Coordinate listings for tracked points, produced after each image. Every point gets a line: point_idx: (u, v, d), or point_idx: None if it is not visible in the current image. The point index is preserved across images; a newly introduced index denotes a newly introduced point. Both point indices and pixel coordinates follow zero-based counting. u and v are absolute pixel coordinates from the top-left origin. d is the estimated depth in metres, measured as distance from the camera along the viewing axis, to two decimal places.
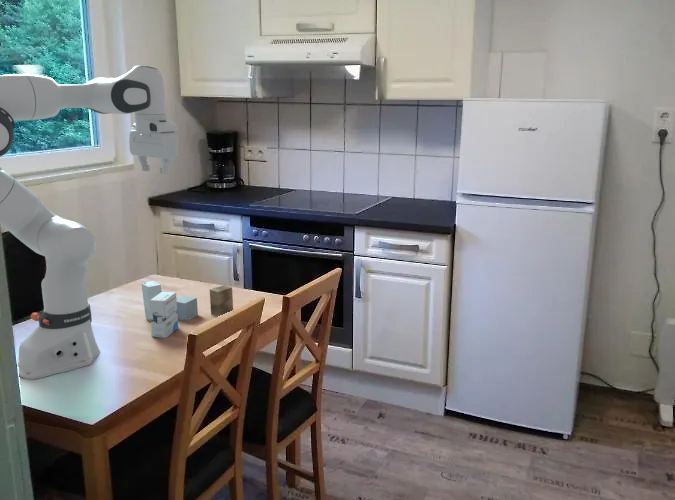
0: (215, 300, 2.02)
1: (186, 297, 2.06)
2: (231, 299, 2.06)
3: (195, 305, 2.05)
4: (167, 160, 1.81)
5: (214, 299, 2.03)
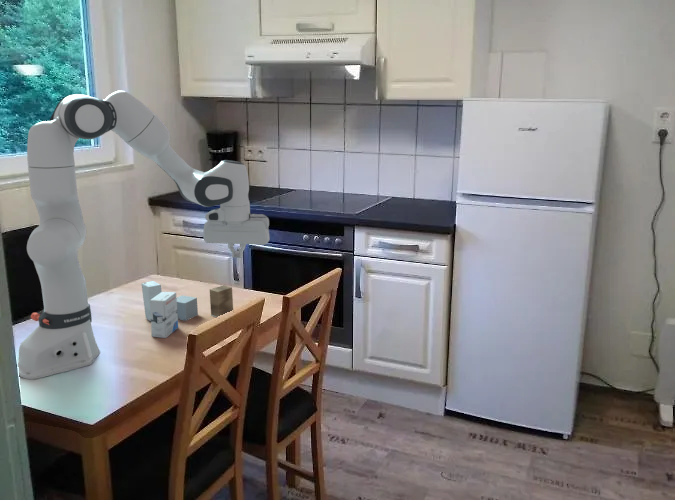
0: (215, 300, 2.02)
1: (186, 297, 2.06)
2: (231, 299, 2.06)
3: (195, 305, 2.05)
4: None
5: (214, 299, 2.03)
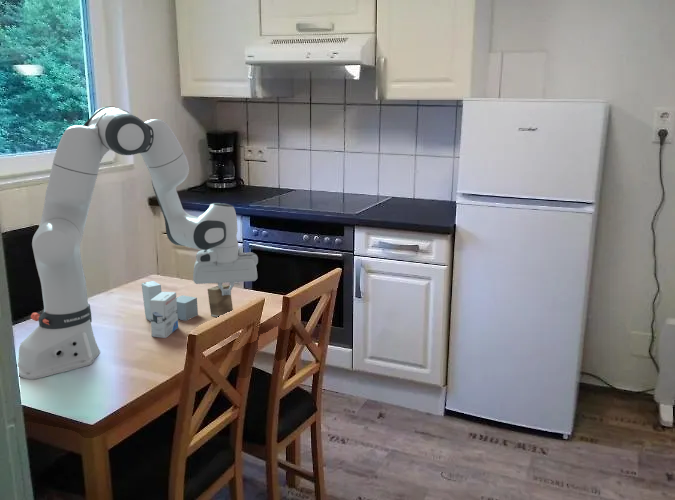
0: (214, 298, 2.03)
1: (186, 297, 2.06)
2: (230, 298, 2.06)
3: (195, 305, 2.05)
4: None
5: (213, 298, 2.03)
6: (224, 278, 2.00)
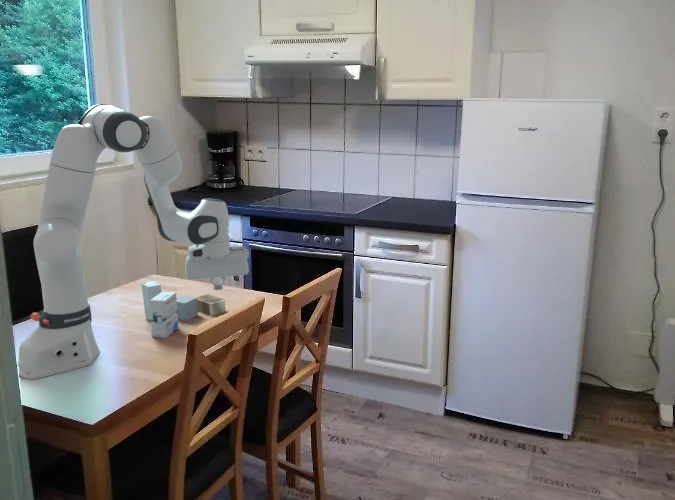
0: (199, 303, 2.09)
1: (186, 297, 2.05)
2: (214, 296, 2.12)
3: (195, 305, 2.05)
4: None
5: (199, 304, 2.09)
6: (216, 273, 2.02)
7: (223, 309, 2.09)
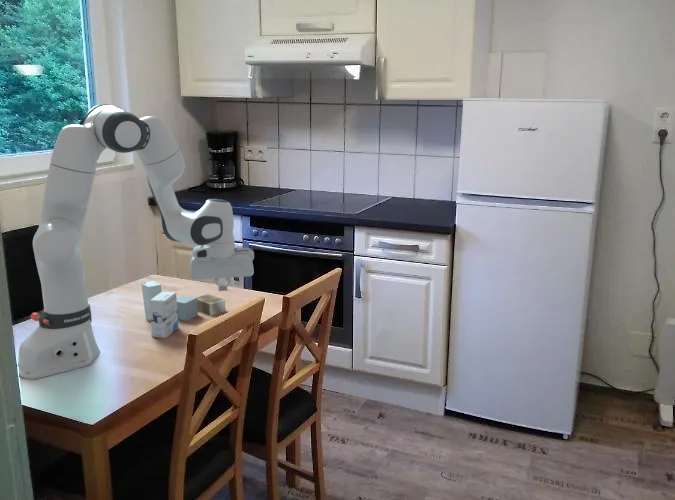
0: (199, 303, 2.09)
1: (186, 297, 2.06)
2: (214, 296, 2.12)
3: (195, 305, 2.05)
4: None
5: (199, 304, 2.09)
6: (221, 274, 2.01)
7: (223, 309, 2.09)
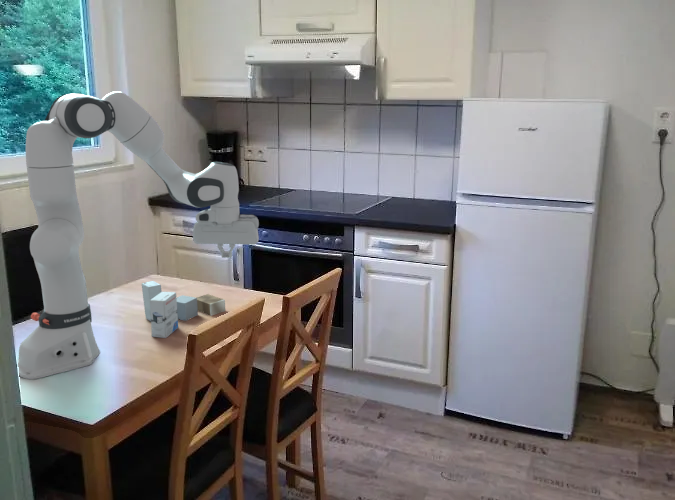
0: (199, 303, 2.09)
1: (186, 297, 2.05)
2: (214, 296, 2.12)
3: (195, 305, 2.05)
4: None
5: (199, 304, 2.09)
6: (223, 239, 1.96)
7: (223, 309, 2.09)
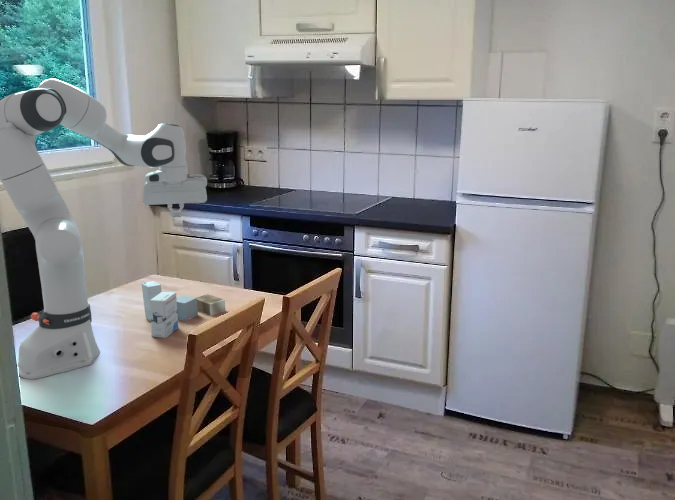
0: (199, 303, 2.09)
1: (186, 297, 2.06)
2: (214, 296, 2.12)
3: (195, 305, 2.05)
4: None
5: (199, 304, 2.09)
6: (173, 199, 2.03)
7: (223, 309, 2.09)
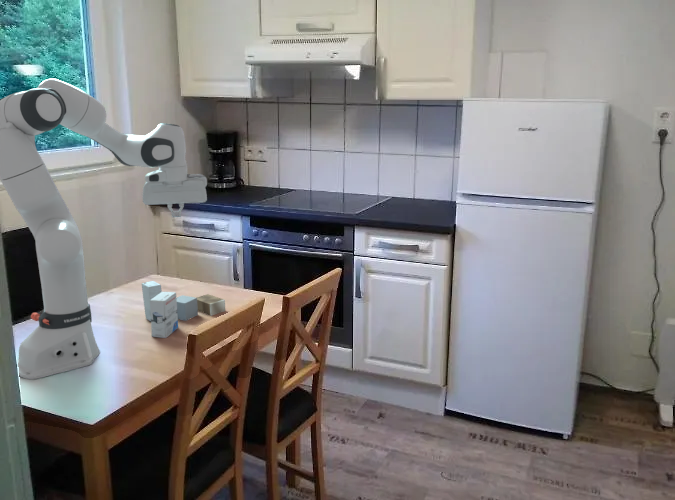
0: (199, 303, 2.09)
1: (186, 297, 2.05)
2: (214, 296, 2.12)
3: (195, 305, 2.05)
4: None
5: (199, 304, 2.09)
6: (173, 199, 2.03)
7: (223, 309, 2.09)
